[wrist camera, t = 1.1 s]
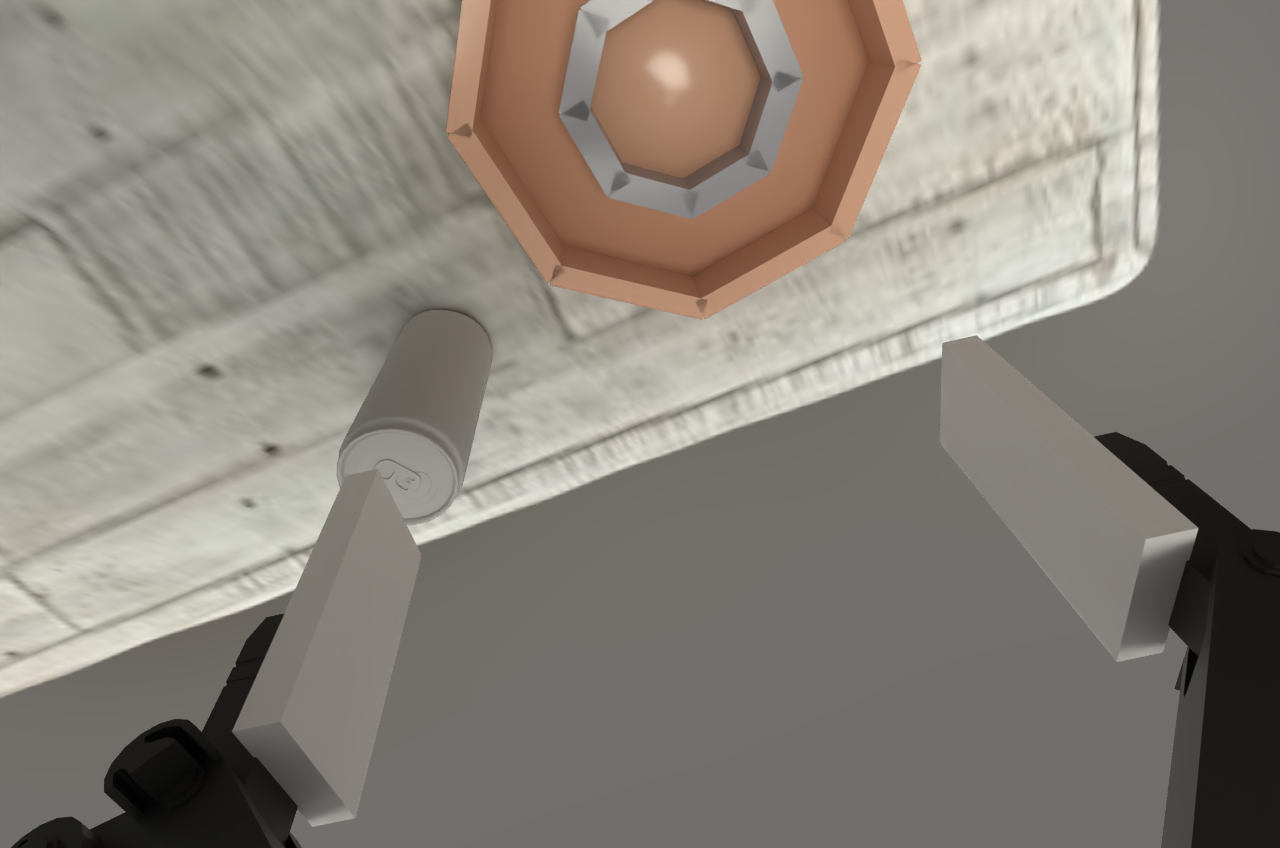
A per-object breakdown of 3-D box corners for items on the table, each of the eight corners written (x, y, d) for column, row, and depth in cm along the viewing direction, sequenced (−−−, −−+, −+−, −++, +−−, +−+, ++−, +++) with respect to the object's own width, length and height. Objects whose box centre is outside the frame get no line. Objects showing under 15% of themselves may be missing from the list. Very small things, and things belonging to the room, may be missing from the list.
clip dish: (442, 232, 35) (427, 259, 31) (505, -247, 26) (494, -283, 22) (785, 313, 38) (806, 345, 35) (942, -85, 29) (990, -95, 26)
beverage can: (463, 402, 39) (422, 546, 29) (383, 356, 38) (310, 491, 27) (511, 338, 38) (486, 466, 27) (429, 285, 36) (370, 403, 26)
